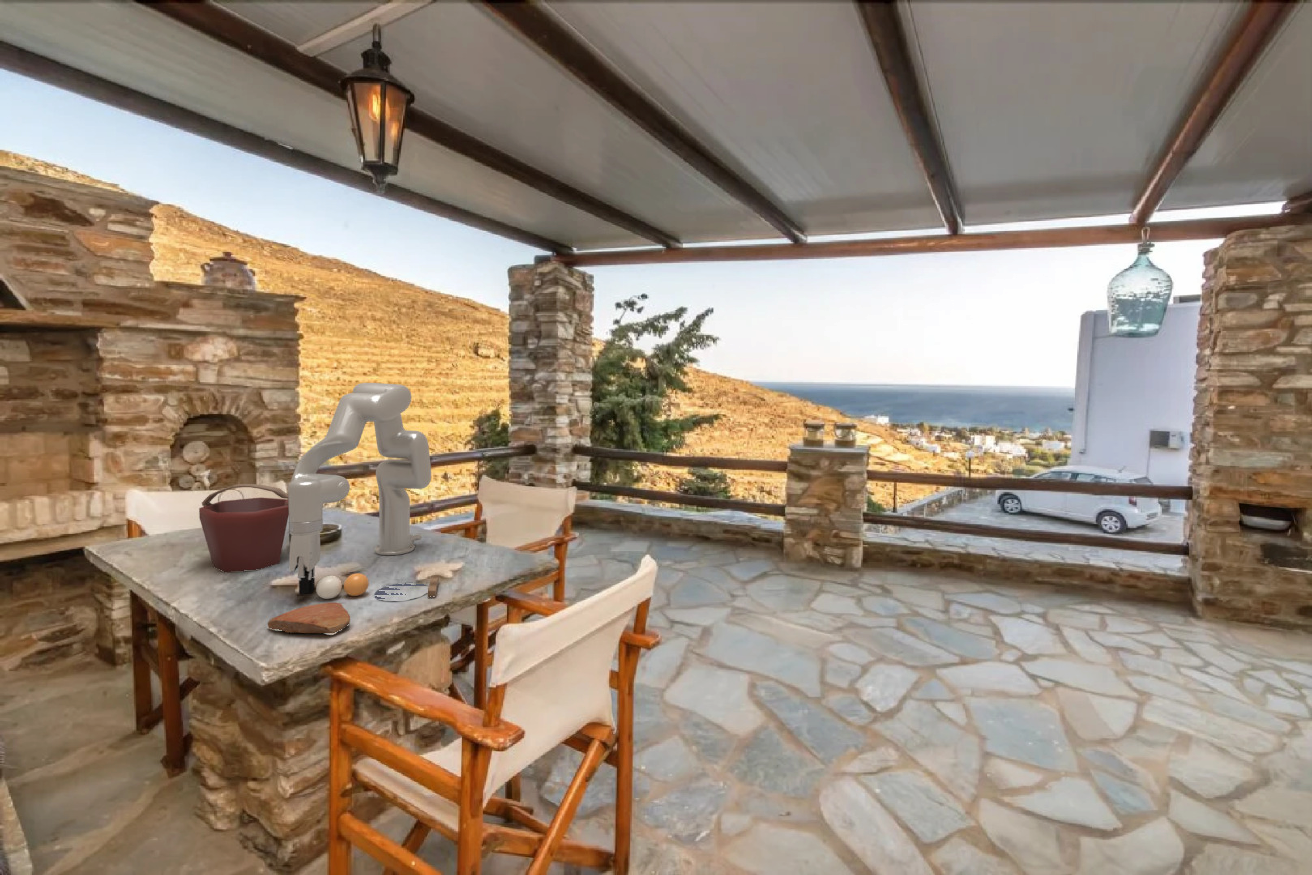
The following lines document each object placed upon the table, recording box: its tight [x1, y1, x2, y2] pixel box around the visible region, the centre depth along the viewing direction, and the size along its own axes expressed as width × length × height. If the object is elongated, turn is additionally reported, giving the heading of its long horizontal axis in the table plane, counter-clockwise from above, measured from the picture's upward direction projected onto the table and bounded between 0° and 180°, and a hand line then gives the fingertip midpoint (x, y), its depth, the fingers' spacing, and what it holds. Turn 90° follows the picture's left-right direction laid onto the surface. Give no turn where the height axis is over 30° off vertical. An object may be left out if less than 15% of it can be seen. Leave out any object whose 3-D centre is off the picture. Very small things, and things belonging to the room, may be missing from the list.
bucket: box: [198, 483, 289, 573], centre depth 168 cm, size 24×22×25 cm
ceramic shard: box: [267, 601, 351, 634], centre depth 128 cm, size 15×6×15 cm
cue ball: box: [315, 575, 343, 600], centre depth 146 cm, size 6×6×6 cm
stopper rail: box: [427, 575, 440, 598], centre depth 154 cm, size 12×2×2 cm, turn 18°
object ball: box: [343, 572, 370, 597], centre depth 148 cm, size 6×6×6 cm
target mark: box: [373, 582, 428, 600], centre depth 152 cm, size 14×14×1 cm
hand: (307, 593), depth 145 cm, fingers closed
